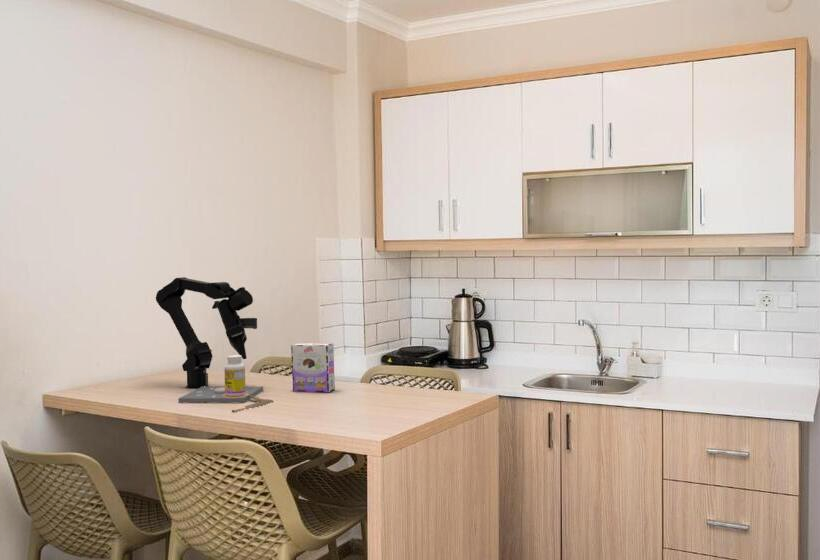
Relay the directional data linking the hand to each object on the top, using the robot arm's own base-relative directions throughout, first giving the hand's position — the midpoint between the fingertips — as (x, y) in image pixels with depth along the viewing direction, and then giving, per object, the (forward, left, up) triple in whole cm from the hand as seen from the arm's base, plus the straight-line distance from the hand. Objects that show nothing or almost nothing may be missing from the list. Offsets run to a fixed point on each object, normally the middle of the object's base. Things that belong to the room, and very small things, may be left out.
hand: (244, 357), depth 282 cm
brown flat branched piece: (+8, -25, -13) cm, 29 cm away
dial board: (-5, -10, -12) cm, 16 cm away
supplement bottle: (+2, -16, -10) cm, 19 cm away
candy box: (+24, 0, -12) cm, 27 cm away
